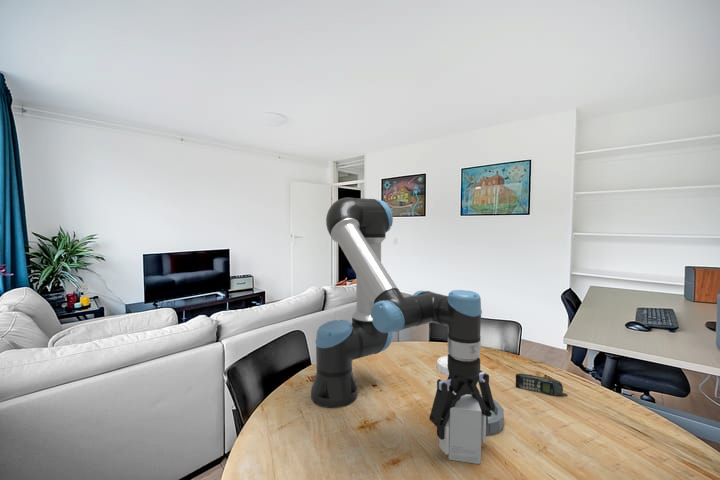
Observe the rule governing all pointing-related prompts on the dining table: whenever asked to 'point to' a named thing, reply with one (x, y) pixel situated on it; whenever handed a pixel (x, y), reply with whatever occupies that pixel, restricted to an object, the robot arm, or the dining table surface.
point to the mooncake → (443, 365)
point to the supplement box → (465, 431)
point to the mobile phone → (539, 384)
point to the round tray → (495, 419)
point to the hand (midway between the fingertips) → (462, 444)
